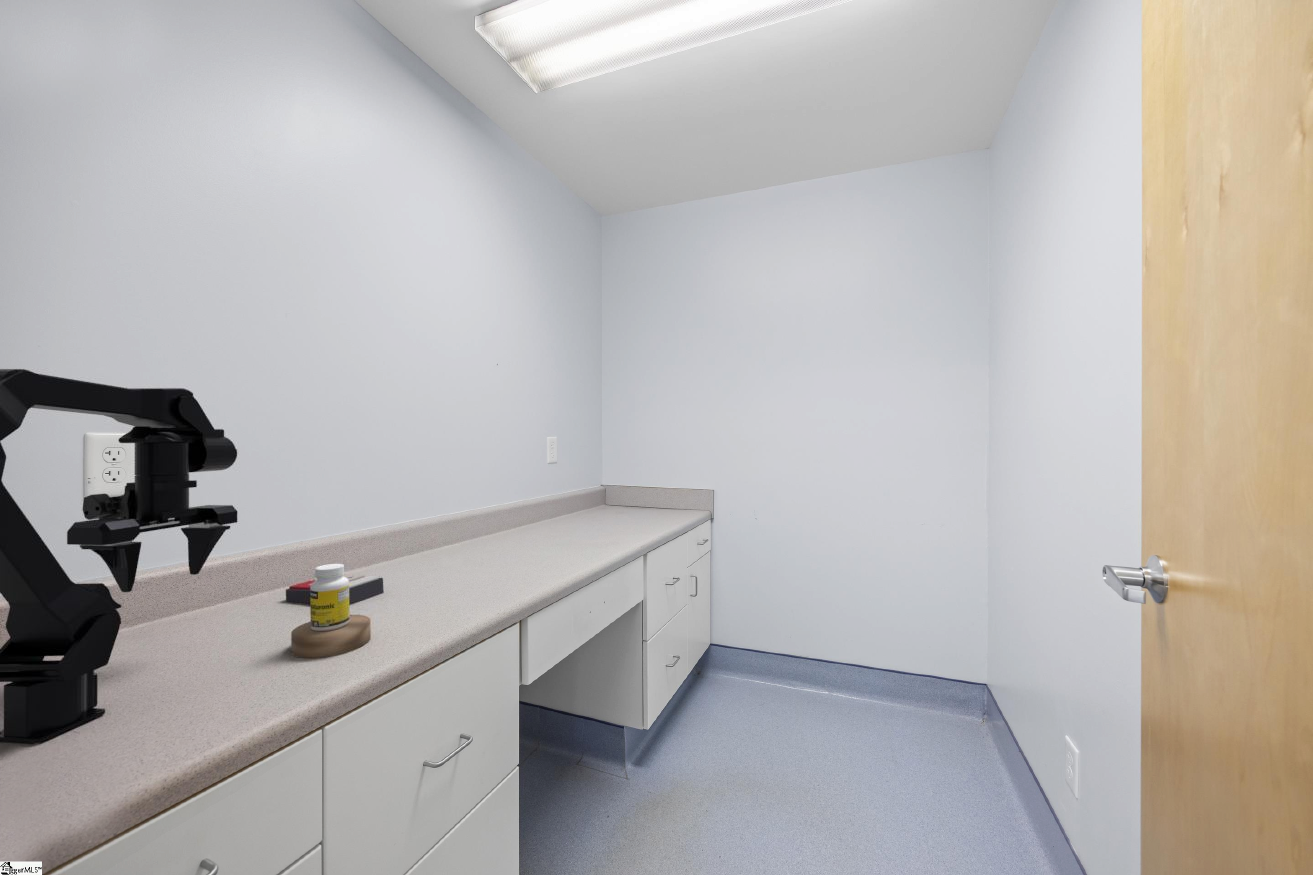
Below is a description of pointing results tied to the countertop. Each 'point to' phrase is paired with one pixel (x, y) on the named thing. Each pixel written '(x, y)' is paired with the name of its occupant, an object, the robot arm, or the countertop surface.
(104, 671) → the countertop surface
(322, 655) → the pedestal
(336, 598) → the supplement bottle
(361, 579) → the red and grey box
